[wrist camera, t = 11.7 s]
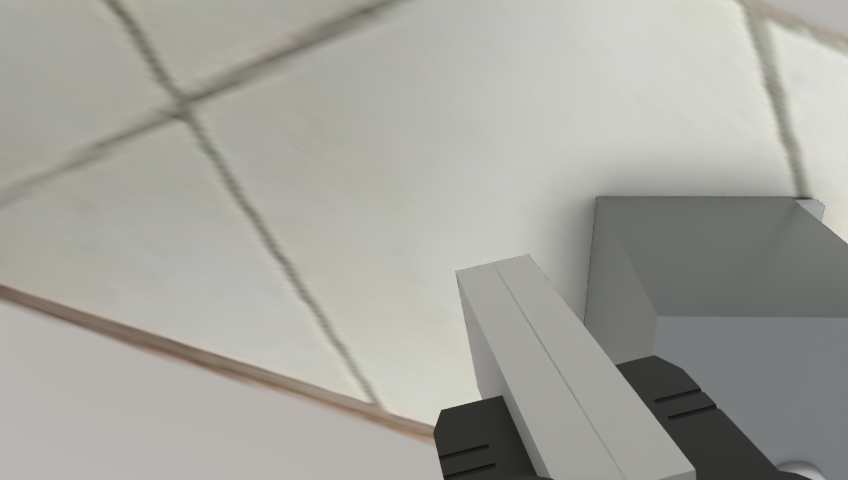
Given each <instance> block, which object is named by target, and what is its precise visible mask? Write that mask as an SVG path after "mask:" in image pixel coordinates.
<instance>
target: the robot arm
mask: <svg viewBox="0 0 848 480" xmlns="http://www.w3.org/2000/svg"><path fill="white" fill-rule="evenodd" d="M455 272H456V277H457V282H458V288H459V293H460V298H461V303H462V308H463V313H464V318H465V323H466V329H467V334H468V339H469V344H470V349H471V354H472V359H473V365H474V370H475V375H476V380H477V385H478V389H479V391H480V394H481V397H482V399H483V400H480V401H476V402H472V403H468V404H464V405H460V406H456V407H452V408H448V409H444V410H441V412H440V415H439V418H438V421H437V424H436V427H435V430H434V433H433V434H434V439H435V443H436V447H437V451H438V456H439V460H440V464H441V469H442V473H443V477H444V480H813V479H810V478H808V477H805V476H802V475H800V474H797V473H792V472H785V471H779V470H778V469H777V468H776V467H775V466H774V465H773V464H772V463H771V462H770V461H769V459H768V458H767V457H766V456H765V455H764V454H763V453H762V452H761V451H760V450H759V449H758V448H757V447H756V446H755V445H754V444H753V443H752V442H751V440H750V439H749V438H748V437H747V436H746V435H745V434H744V433H743V432H742V431H741V430H740V429H739V428H738V427H737V426H736V425H735V424H734V423H733V421H732V420H731V419H730V418H729V417H728V416H727V415H726V414H725V413H724V412H723V411H722V410H721V409H718V408H717V406H716V403H715V402H714V401H713V400H712V399H711V398H710V397H709V396H708V395H707V394H706V393H705V392H702V391H701V388H700V387H699V386H698V384H697V383H696V382H695V381H694V380H693V379H692V378H691V377H690V376H689V375H688V374H687V373H686V372H685V371H684V370H683V369H682V368H680V367H678V366H676V365H674V364H672V363H670V362H668V361H666V360H664V359H662V358H659V357H657V356H655V355H653V356H649V357H645V358H640V359H636V360H632V361H628V362H624V363H620V364H616V365H614V364H613V362H612V361H611V360H610V359H609V357H608V356H607V355H606V353H605V352H604V351H603V349H602V348H601V347H600V346H599V344H598V343H597V342H596V340H595V339H594V338H593V337H592V335H591V334H590V333H589V331H588V330H587V329H586V328H585V326H584V325H583V324H582V322H581V321H580V320H579V318H578V317H577V316H576V315H575V313H574V312H573V311H572V309H571V308H570V307H569V306H568V304H567V303H566V302H565V300H564V299H563V298H562V297H561V295H560V294H559V293H558V291H557V290H556V289H555V287H554V286H553V285H552V284H551V282H550V281H549V280H548V278H547V277H546V276H545V275H544V273H543V272H542V271H541V269H540V268H539V267H538V266H537V264H536V263H535V262H534V260H533V259H532V258H531V256H530V255H529V254H527V255H523V256H518V257H514V258H510V259H506V260H502V261H497V262H493V263H489V264H485V265H480V266H476V267H472V268H468V269H463V270H459V271H455Z"/></svg>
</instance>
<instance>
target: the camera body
mask: <svg viewBox="0 0 848 480" xmlns="http://www.w3.org/2000/svg"><path fill="white" fill-rule="evenodd" d="M824 209H825V205H824V204H823V203H821V202H820V201H819V200H794V199H793V198H791V197H597V198H596V208H595V218H594V228H593V238H592V248H591V259H590V269H589V279H588V289H587V299H586V310H585V320H584V326H585V328H586V329H587V330H588V331H589V333H590V334H591V335H592V337H593V338H594V339H595V340H596V342H597V343H598V344H599V346H600V347H601V348H602V349H603V351H604V352H605V353H606V355H607V356H608V357H609V359H610V360H611V361H612V362H613V364H614V365H616V364H620V363H624V362H628V361H632V360H636V359H640V358H645V357H649V356H653V355H655V356H657V357H659V358H662V359H664V360H666V361H668V362H670V363H672V364H674V365H676V366H678V367H680V368H682V369H683V370H684V371H685V372H686V373H687V374H688V375H689V376H690V377H691V378H692V379H693V380H694V381H695V382H696V383H697V384H698V386H699V387H700V388H701V391H702V392H705V393H706V394H707V395H708V396H709V397H710V398H711V399H712V400H713V401H714V402H715V403H716V406H717V408H718V409H721V410H722V411H723V412H724V413H725V414H726V415H727V416H728V417H729V418H730V419H731V420H732V421H733V423H734V424H735V425H736V426H737V427H738V428H739V429H740V430H741V431H742V432H743V433H744V434H745V435H746V436H747V437H748V438H749V439H750V440H751V442H752V443H753V444H754V445H755V446H756V447H757V448H758V449H759V450H760V451H761V452H762V453H763V454H764V455H765V456H766V457H767V458H768V459H769V461H770V462H771V463H772V464H773V465H774V466H775V467H776V468H777V469H778V470H779V471H785V472H792V473H797V474H800V475H802V476H805V477H808V478H810V479H813V480H848V244H847V243H846V242H845V241H843V240H842V239H841V238H840V237H838V236H837V235H836V234H835V233H834V232H832V231H831V230H830V229H829V228H828V227H826V226H825V225H824V224H823V223H822V222H821V221H822V217H823V213H824Z"/></svg>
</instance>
